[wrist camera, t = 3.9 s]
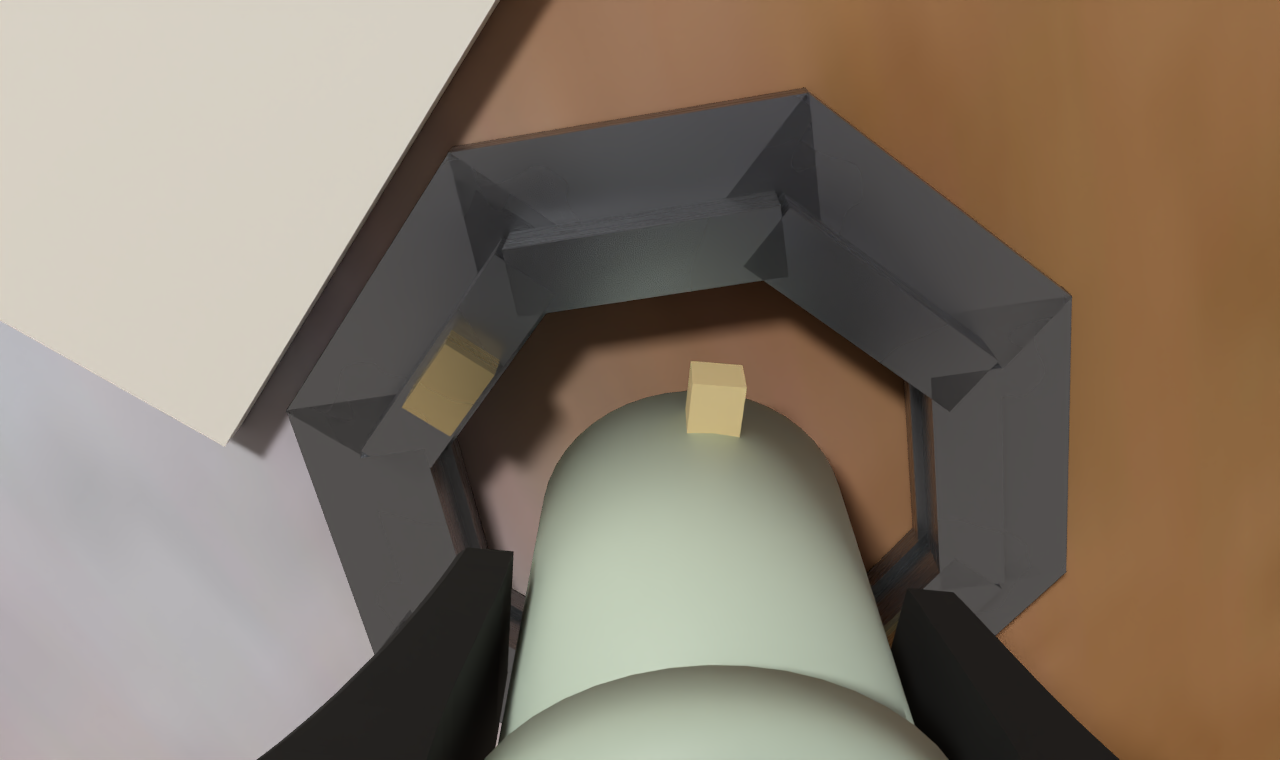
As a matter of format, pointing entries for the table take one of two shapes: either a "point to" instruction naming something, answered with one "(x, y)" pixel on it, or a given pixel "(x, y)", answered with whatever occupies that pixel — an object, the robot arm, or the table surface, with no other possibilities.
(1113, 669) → the table surface
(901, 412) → the table surface
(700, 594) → the pale green jar
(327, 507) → the bayonet collar
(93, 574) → the table surface
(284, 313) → the plate
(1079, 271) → the table surface
